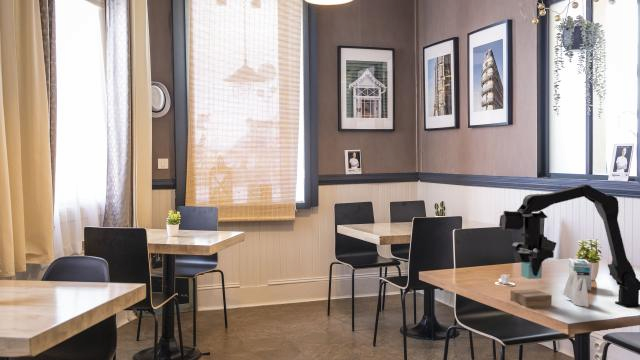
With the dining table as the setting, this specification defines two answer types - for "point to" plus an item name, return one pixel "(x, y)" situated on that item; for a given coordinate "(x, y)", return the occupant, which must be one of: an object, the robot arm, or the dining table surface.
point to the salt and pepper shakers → (576, 290)
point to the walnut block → (531, 298)
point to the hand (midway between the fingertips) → (531, 274)
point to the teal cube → (529, 271)
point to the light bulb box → (581, 270)
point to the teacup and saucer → (504, 280)
